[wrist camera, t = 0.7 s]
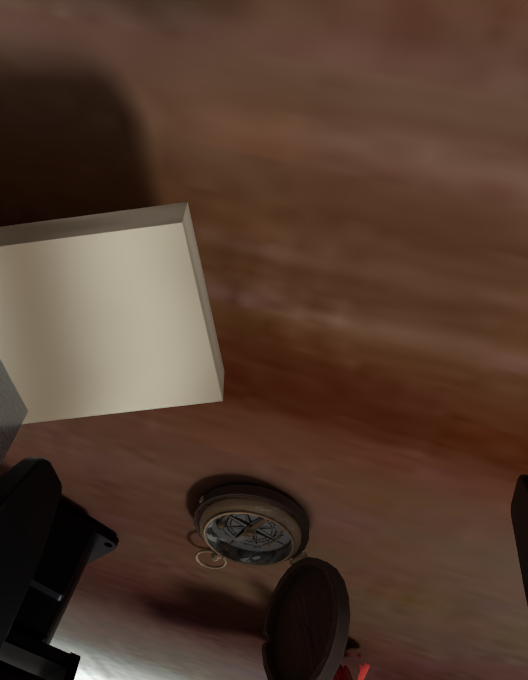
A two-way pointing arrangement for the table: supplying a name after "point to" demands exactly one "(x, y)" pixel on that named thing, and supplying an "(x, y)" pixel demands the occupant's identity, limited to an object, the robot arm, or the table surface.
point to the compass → (292, 589)
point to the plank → (107, 314)
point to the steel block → (9, 411)
